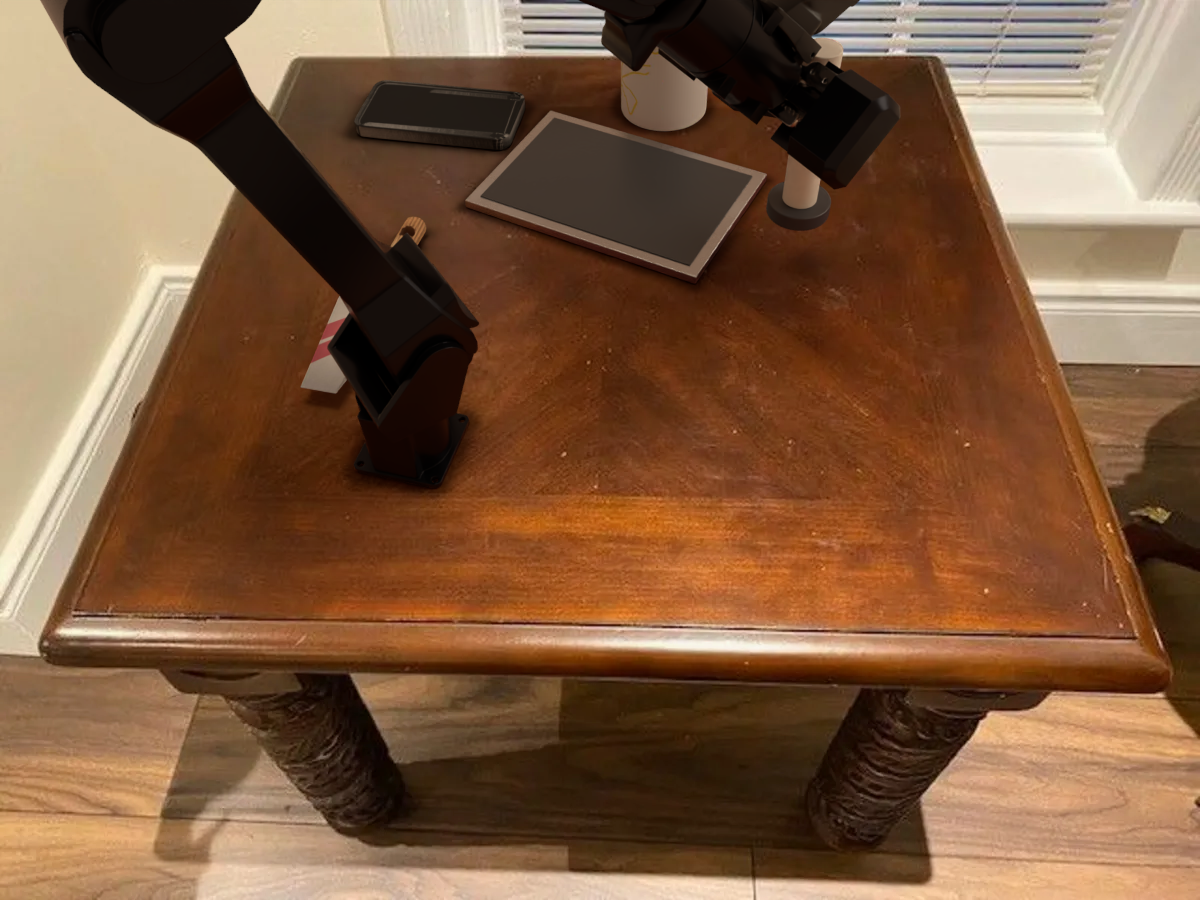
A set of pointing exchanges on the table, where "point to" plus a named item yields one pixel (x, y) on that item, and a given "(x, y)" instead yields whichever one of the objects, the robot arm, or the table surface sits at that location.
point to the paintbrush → (323, 366)
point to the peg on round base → (803, 175)
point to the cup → (661, 96)
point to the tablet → (619, 194)
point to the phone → (441, 114)
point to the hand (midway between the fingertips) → (824, 125)
